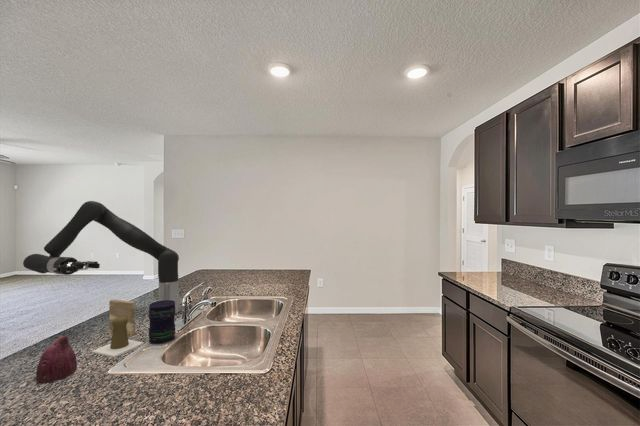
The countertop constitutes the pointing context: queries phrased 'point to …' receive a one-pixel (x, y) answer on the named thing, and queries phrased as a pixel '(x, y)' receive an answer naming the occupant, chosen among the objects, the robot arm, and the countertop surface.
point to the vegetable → (56, 361)
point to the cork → (119, 333)
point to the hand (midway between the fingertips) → (88, 267)
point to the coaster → (116, 352)
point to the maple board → (122, 314)
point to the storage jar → (162, 321)
